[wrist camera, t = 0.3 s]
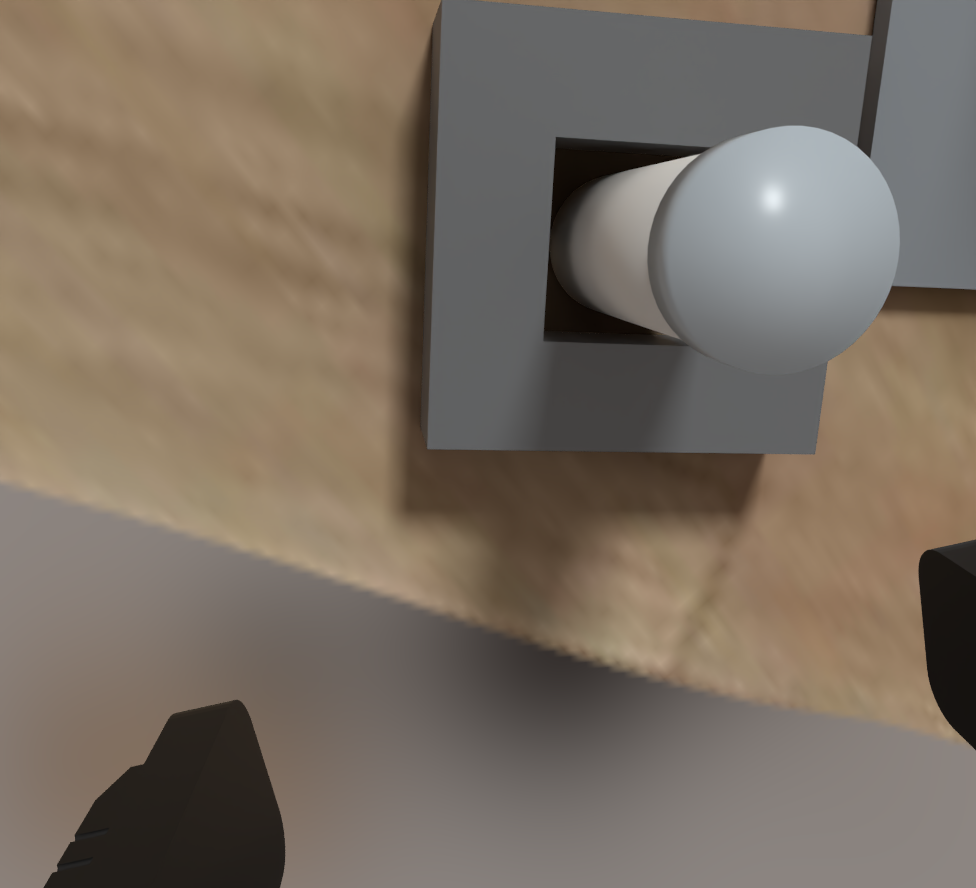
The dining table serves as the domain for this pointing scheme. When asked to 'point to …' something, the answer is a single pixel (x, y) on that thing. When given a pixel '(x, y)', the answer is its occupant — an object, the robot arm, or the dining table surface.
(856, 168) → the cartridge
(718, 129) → the housing
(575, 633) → the dining table surface
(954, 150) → the mat
